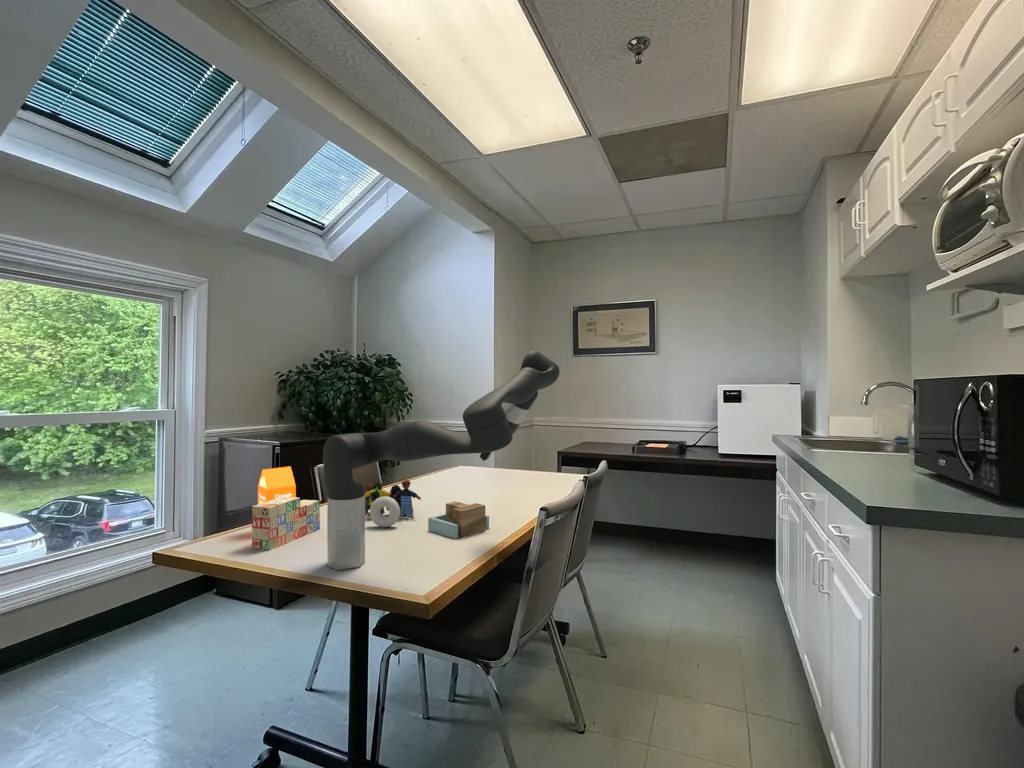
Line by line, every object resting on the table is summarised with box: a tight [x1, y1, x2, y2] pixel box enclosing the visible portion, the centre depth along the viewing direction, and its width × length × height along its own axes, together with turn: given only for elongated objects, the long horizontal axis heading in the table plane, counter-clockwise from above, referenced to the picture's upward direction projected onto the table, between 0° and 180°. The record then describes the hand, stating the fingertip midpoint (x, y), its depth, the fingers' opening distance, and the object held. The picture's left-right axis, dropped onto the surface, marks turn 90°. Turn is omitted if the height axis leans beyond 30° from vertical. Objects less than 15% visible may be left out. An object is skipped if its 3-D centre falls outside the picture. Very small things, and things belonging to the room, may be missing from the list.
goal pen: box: [427, 513, 490, 540], centre depth 155 cm, size 13×14×4 cm
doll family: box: [365, 479, 422, 519], centre depth 171 cm, size 23×9×13 cm, turn 91°
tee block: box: [445, 501, 486, 539], centre depth 155 cm, size 11×10×8 cm
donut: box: [369, 496, 401, 528], centre depth 158 cm, size 10×4×10 cm, turn 84°
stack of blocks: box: [251, 496, 321, 551], centre depth 147 cm, size 21×6×12 cm, turn 164°
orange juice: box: [257, 465, 297, 505], centre depth 154 cm, size 8×9×20 cm
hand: (483, 458), depth 147 cm, fingers closed
